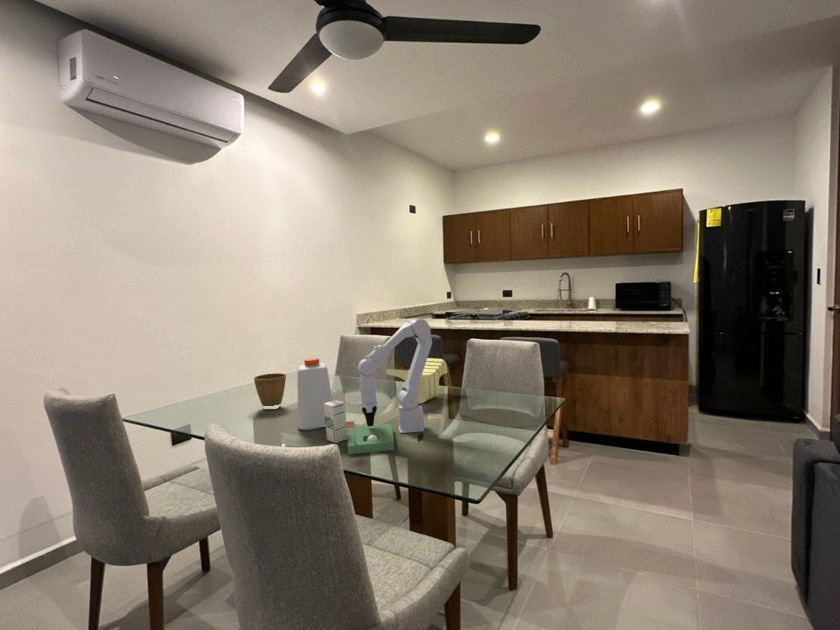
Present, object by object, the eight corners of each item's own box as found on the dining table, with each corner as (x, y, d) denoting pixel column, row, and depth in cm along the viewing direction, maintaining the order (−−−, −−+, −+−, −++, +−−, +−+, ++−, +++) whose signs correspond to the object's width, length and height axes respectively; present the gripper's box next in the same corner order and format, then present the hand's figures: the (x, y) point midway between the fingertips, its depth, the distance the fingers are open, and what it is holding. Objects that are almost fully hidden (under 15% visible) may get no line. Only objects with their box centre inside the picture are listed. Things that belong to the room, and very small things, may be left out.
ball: (378, 443, 157) (375, 449, 159) (380, 434, 160) (377, 440, 162) (367, 441, 156) (365, 447, 159) (369, 431, 159) (367, 437, 162)
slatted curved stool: (415, 409, 203) (413, 370, 202) (388, 405, 212) (385, 368, 210) (448, 393, 228) (446, 359, 227) (422, 390, 237) (420, 357, 235)
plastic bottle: (298, 432, 180) (292, 363, 178) (298, 421, 194) (293, 358, 192) (336, 427, 184) (331, 360, 182) (333, 416, 198) (328, 354, 196)
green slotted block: (391, 431, 175) (389, 403, 174) (394, 449, 155) (392, 419, 154) (348, 435, 173) (346, 407, 172) (346, 454, 153) (343, 423, 152)
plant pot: (268, 414, 209) (265, 380, 207) (250, 410, 218) (247, 377, 216) (294, 406, 220) (292, 374, 219) (276, 402, 229) (274, 371, 228)
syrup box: (347, 439, 169) (344, 401, 168) (334, 443, 164) (332, 405, 163) (338, 436, 173) (335, 399, 171) (325, 440, 168) (322, 403, 167)
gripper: (358, 387, 176) (360, 420, 177) (357, 396, 162) (359, 432, 163) (375, 385, 177) (378, 419, 178) (376, 394, 163) (379, 431, 164)
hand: (370, 425), depth 170 cm, fingers closed
